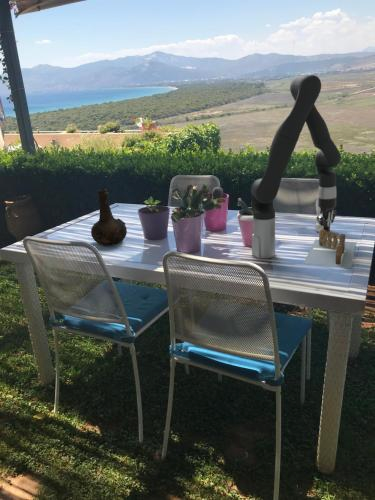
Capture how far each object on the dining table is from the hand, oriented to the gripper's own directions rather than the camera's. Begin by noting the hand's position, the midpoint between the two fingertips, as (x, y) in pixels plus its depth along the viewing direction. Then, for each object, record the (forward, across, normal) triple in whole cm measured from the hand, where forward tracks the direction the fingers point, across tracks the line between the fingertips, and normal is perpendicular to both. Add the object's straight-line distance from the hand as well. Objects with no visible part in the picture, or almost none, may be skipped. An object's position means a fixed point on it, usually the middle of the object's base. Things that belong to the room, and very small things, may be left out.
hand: (326, 233), depth 187 cm
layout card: (+5, -8, -7) cm, 12 cm away
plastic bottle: (+6, +15, +12) cm, 19 cm away
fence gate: (+4, -4, -5) cm, 7 cm away
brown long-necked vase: (+2, -62, +86) cm, 106 cm away
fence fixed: (+5, -12, -14) cm, 19 cm away
